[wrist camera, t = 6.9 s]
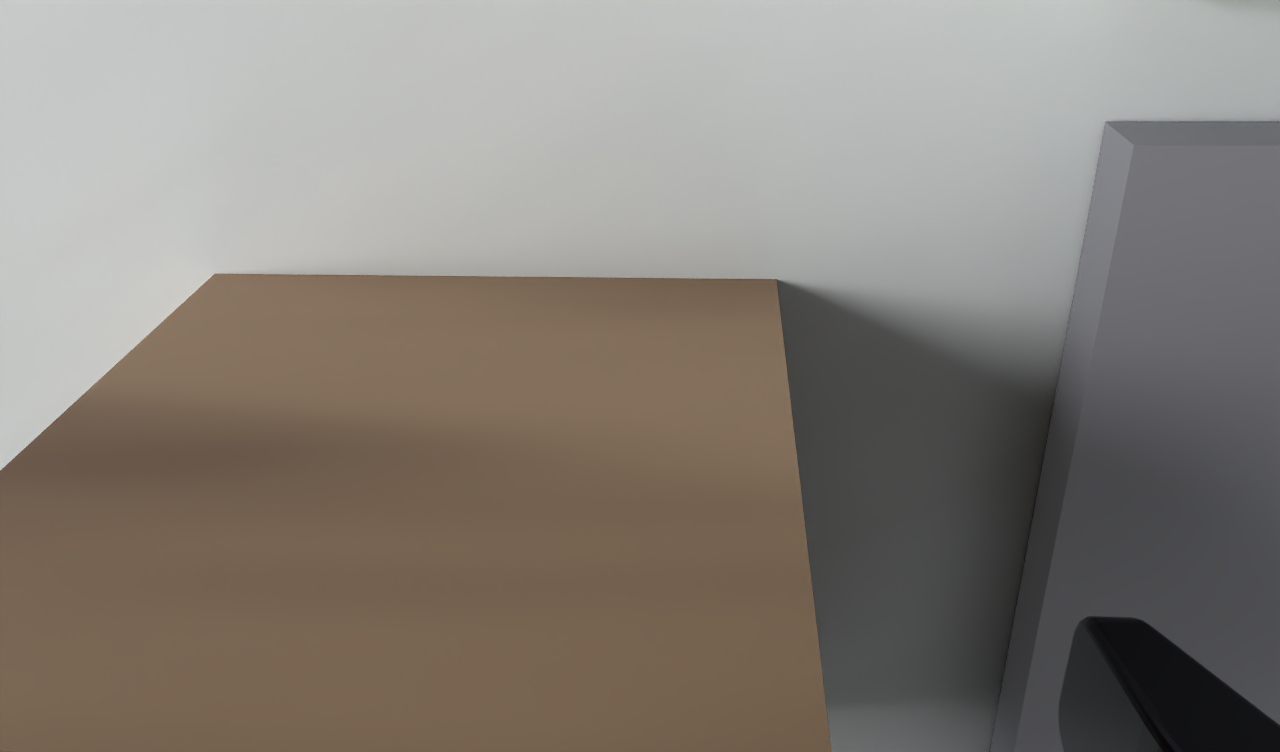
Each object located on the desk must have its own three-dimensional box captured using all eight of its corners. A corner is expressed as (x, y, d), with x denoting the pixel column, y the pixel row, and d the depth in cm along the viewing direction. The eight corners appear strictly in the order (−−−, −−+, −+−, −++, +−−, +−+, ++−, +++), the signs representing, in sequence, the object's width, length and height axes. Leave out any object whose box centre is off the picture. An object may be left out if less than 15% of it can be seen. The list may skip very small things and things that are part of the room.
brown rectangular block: (757, 705, 11) (782, 1347, 6) (305, 688, 11) (22, 1290, 6) (776, 276, 8) (834, 784, 4) (218, 271, 9) (-292, 737, 4)
